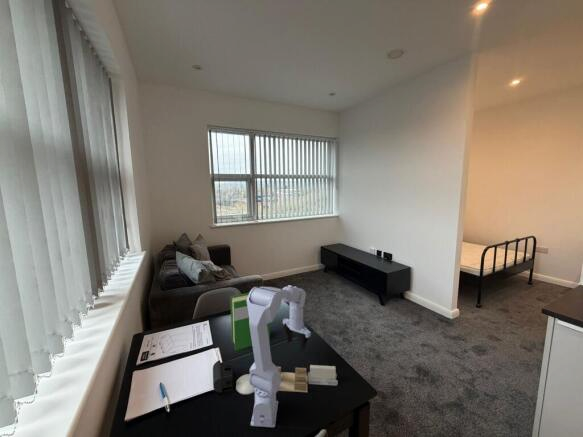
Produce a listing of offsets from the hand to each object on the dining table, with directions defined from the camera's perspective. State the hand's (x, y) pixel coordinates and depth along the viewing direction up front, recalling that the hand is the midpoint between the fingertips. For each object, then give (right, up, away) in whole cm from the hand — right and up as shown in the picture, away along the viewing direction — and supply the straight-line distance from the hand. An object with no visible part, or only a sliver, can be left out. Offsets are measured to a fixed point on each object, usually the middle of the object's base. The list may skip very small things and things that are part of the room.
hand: (296, 345), depth 104 cm
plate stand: (+11, -11, -6) cm, 16 cm away
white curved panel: (+11, -10, -6) cm, 16 cm away
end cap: (-29, -11, -8) cm, 32 cm away
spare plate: (-19, -11, -8) cm, 24 cm away
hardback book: (-22, -8, +19) cm, 30 cm away
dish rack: (-4, -11, -7) cm, 14 cm away
